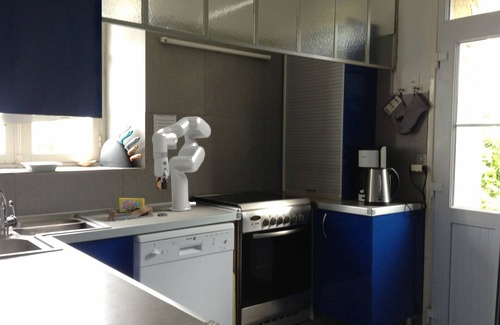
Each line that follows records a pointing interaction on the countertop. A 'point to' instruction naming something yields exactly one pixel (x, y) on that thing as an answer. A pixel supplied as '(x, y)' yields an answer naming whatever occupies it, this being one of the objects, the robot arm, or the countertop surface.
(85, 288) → the countertop surface
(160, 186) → the ball
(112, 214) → the ramp
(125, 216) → the runway
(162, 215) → the cradle
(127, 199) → the candy box
